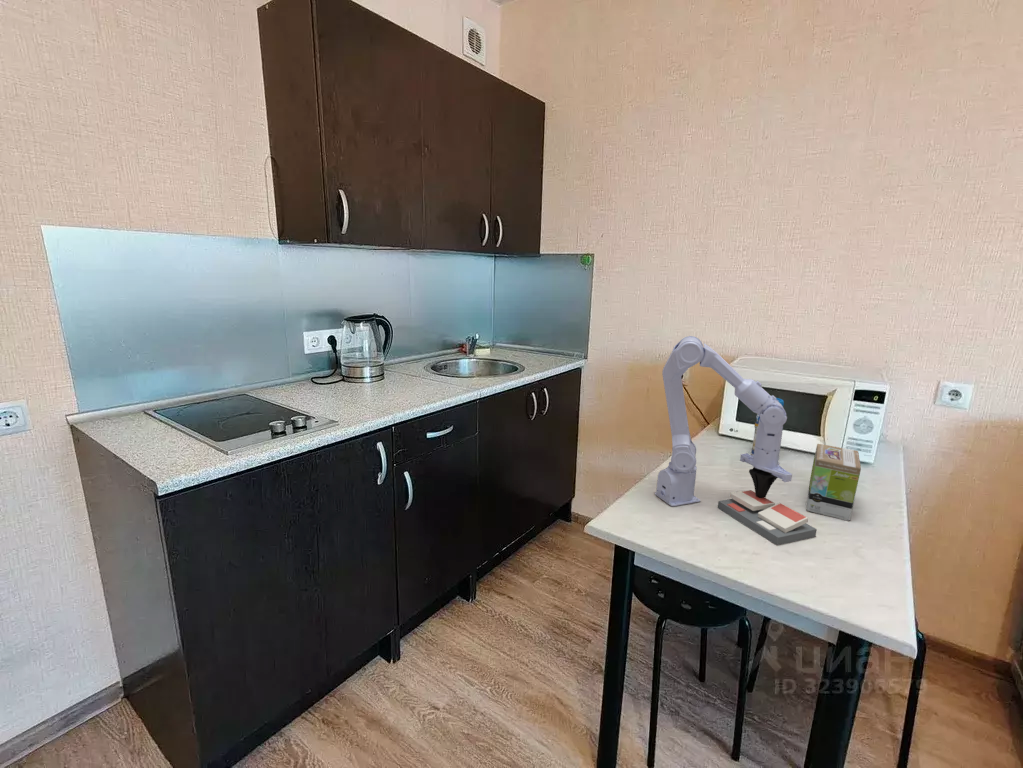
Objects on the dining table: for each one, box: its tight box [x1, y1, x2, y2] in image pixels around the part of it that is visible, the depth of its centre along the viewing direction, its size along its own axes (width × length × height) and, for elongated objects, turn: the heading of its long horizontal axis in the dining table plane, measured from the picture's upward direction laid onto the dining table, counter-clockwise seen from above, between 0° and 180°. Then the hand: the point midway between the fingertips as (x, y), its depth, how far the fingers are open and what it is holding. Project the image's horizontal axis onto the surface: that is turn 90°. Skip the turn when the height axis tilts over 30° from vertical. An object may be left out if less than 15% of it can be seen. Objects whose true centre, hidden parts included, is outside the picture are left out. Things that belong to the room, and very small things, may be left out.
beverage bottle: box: [750, 397, 785, 456], centre depth 166 cm, size 8×8×20 cm
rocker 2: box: [758, 502, 809, 533], centre depth 120 cm, size 7×8×1 cm
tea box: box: [806, 443, 862, 522], centre depth 133 cm, size 15×10×15 cm
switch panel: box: [717, 498, 818, 546], centre depth 125 cm, size 12×19×3 cm, turn 20°
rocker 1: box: [729, 489, 776, 511], centre depth 129 cm, size 7×8×1 cm
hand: (760, 496), depth 130 cm, fingers closed, pressing on rocker 1
